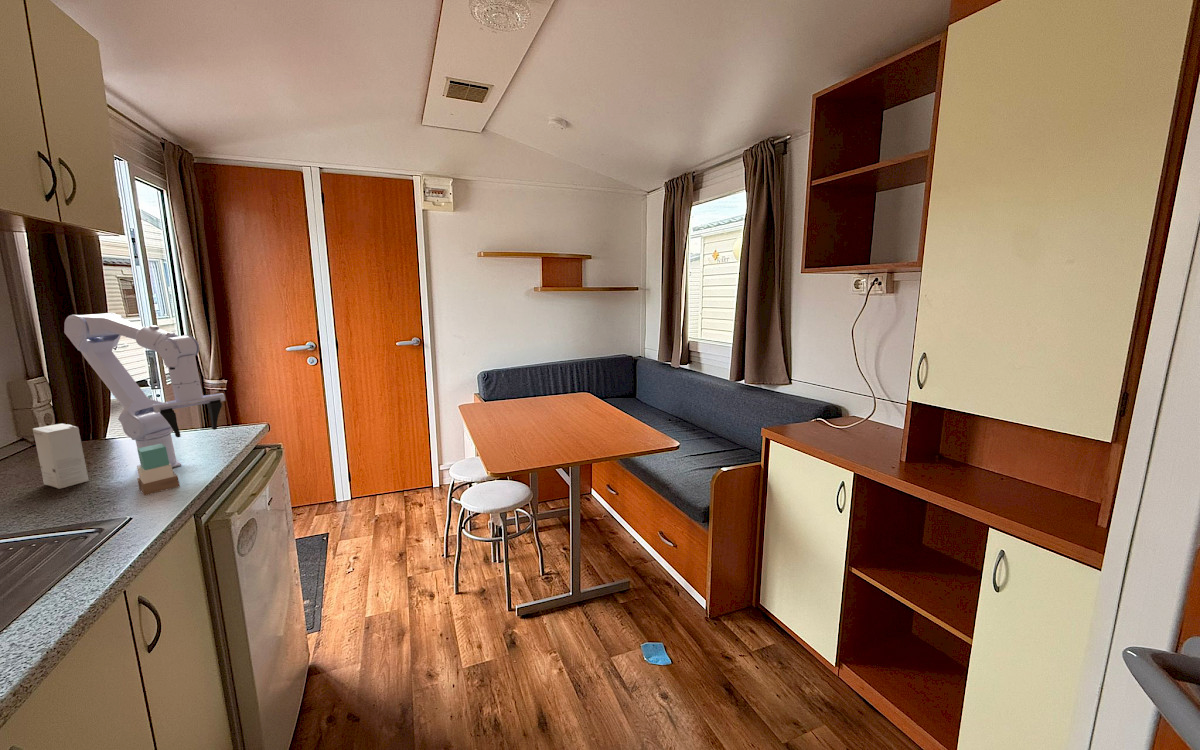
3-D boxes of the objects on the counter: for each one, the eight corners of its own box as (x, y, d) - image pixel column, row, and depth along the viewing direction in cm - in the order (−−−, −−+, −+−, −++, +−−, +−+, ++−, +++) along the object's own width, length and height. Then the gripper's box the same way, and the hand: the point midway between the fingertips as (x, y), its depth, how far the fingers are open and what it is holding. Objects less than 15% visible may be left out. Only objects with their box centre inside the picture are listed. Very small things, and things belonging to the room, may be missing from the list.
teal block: (141, 466, 119) (137, 448, 119) (165, 460, 123) (161, 443, 122) (144, 470, 117) (140, 452, 116) (169, 464, 120) (165, 446, 119)
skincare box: (43, 485, 125) (28, 428, 122) (75, 476, 130) (62, 422, 128) (60, 489, 122) (45, 431, 119) (92, 480, 127) (78, 424, 124)
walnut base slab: (139, 490, 121) (137, 478, 120) (174, 481, 125) (171, 470, 125) (144, 496, 116) (142, 484, 116) (180, 487, 121) (177, 475, 121)
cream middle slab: (139, 478, 120) (136, 467, 119) (169, 471, 124) (166, 460, 123) (143, 484, 116) (140, 472, 116) (173, 476, 120) (171, 464, 120)
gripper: (151, 389, 120) (163, 442, 123) (223, 378, 131) (233, 428, 134) (147, 386, 125) (158, 438, 128) (217, 376, 136) (226, 424, 138)
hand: (196, 432), depth 131 cm, fingers open, 7 cm apart
